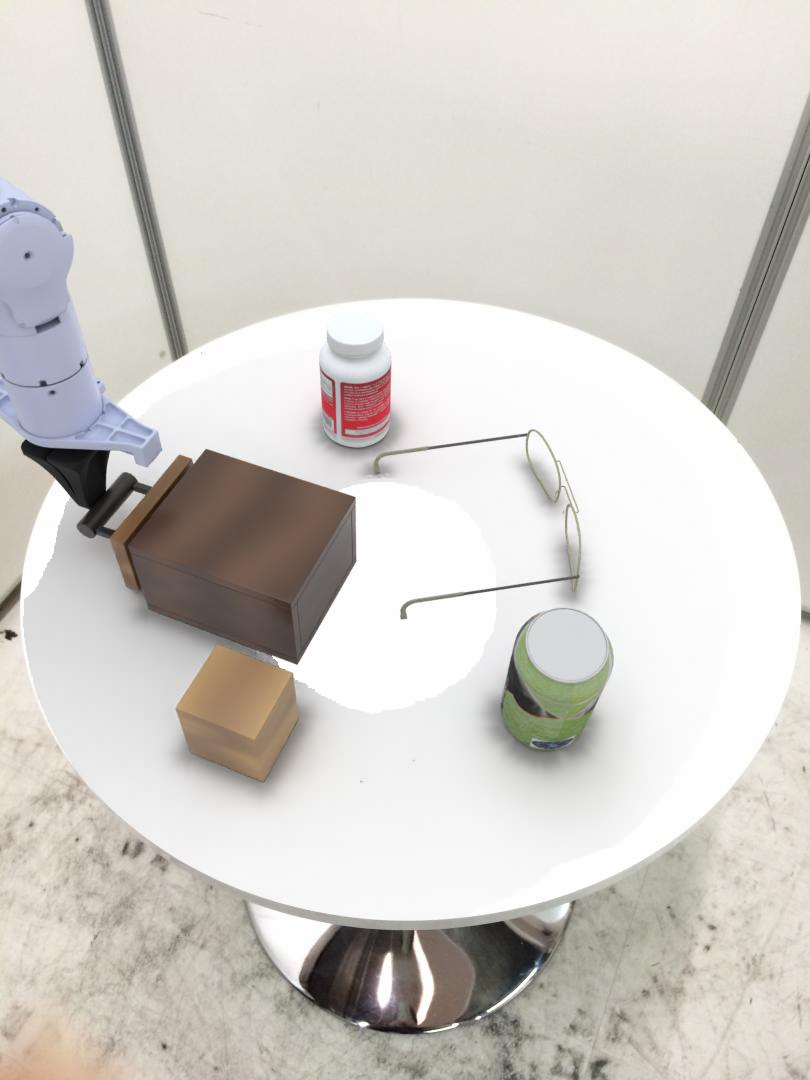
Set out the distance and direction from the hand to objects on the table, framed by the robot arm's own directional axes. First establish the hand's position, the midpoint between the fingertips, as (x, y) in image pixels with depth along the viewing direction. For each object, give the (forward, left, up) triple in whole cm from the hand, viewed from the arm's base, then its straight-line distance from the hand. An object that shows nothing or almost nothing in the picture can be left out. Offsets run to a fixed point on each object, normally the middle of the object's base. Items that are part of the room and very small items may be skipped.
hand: (92, 499), depth 68 cm
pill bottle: (+14, +20, -4) cm, 24 cm away
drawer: (+9, 0, -3) cm, 9 cm away
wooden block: (+19, -12, -4) cm, 23 cm away
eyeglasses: (+28, +12, -4) cm, 31 cm away
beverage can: (+38, -3, -4) cm, 38 cm away
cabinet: (+14, 0, -4) cm, 14 cm away
